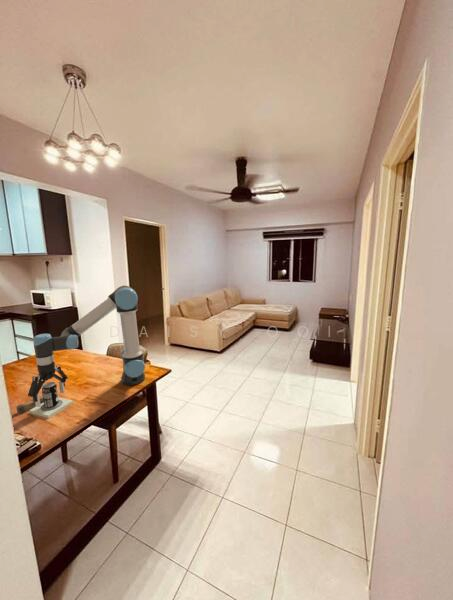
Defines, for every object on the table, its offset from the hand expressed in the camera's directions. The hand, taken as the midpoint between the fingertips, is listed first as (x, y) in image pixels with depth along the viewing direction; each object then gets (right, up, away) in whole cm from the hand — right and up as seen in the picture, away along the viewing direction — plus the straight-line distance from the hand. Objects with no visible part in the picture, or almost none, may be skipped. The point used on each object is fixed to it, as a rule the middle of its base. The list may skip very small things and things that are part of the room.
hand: (50, 399), depth 136 cm
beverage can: (0, -4, +1) cm, 4 cm away
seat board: (0, -5, +1) cm, 5 cm away
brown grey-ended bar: (-11, -5, +3) cm, 12 cm away
